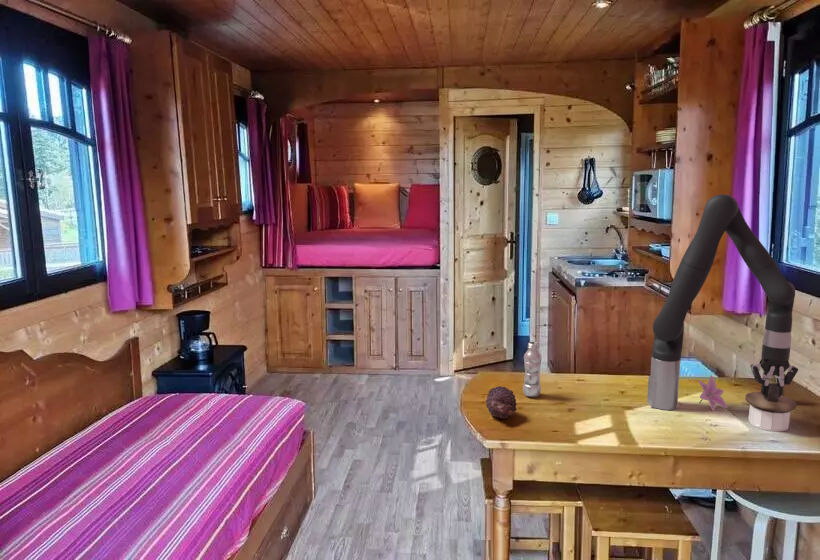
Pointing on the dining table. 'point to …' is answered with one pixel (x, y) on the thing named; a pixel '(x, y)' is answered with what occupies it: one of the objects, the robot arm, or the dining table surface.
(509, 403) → the pine cone
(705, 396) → the lily
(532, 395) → the plastic bottle
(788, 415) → the ceramic bowl
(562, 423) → the dining table surface
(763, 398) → the walnut lid
